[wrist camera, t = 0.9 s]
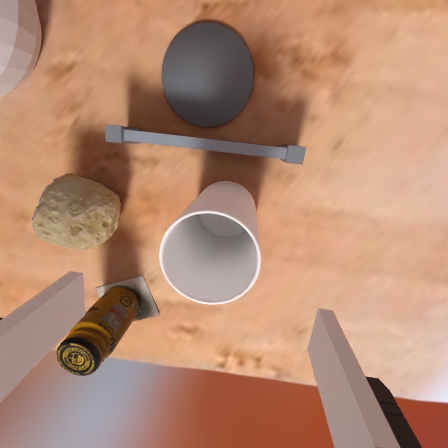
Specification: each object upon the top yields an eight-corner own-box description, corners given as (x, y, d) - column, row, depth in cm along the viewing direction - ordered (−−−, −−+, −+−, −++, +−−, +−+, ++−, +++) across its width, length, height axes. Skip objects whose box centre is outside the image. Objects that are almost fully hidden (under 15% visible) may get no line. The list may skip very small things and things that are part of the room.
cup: (247, 173, 34) (247, 198, 19) (261, 231, 36) (271, 295, 21) (189, 189, 35) (144, 223, 20) (205, 243, 38) (176, 312, 22)
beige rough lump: (22, 153, 29) (75, 196, 25) (99, 169, 38) (146, 202, 35) (-1, 226, 31) (45, 275, 28) (77, 224, 40) (119, 260, 37)
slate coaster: (161, 122, 33) (160, 121, 33) (164, 19, 30) (163, 18, 29) (246, 131, 32) (246, 131, 32) (260, 28, 29) (260, 26, 29)
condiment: (95, 287, 42) (38, 342, 30) (142, 275, 40) (100, 327, 29) (114, 324, 43) (67, 389, 32) (160, 314, 42) (127, 377, 31)
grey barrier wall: (127, 141, 34) (105, 141, 29) (127, 127, 34) (105, 124, 28) (293, 161, 33) (302, 164, 28) (296, 146, 32) (306, 147, 27)
